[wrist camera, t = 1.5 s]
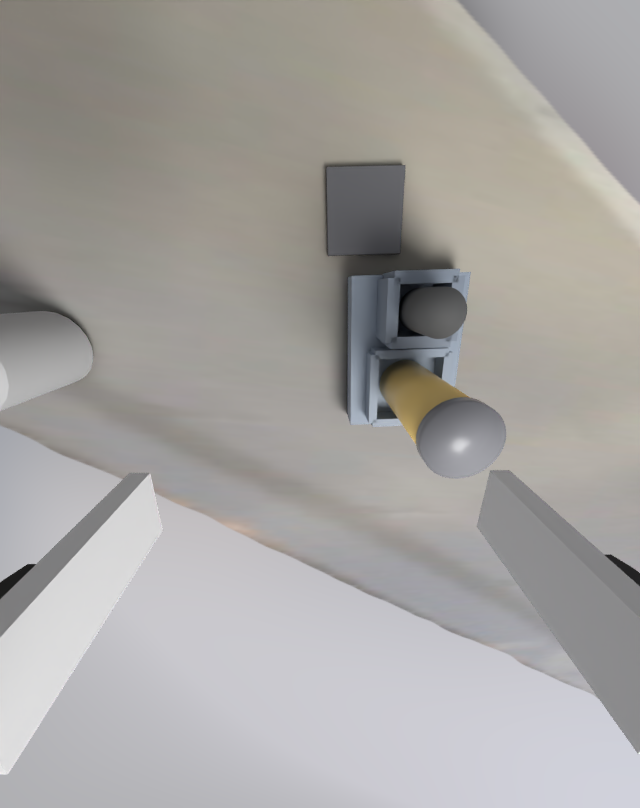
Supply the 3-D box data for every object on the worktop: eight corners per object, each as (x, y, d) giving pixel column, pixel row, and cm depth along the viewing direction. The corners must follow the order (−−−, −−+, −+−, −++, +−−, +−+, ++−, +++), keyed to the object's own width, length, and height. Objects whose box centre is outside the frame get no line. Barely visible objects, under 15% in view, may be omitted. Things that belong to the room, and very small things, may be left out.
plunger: (399, 288, 25) (419, 287, 21) (440, 286, 25) (470, 285, 21) (396, 331, 27) (414, 339, 22) (436, 330, 27) (463, 338, 22)
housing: (348, 276, 30) (358, 271, 23) (455, 273, 30) (496, 267, 24) (347, 414, 35) (355, 442, 29) (439, 410, 36) (468, 437, 29)
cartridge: (378, 358, 30) (425, 404, 18) (431, 356, 30) (513, 401, 18) (376, 408, 32) (417, 480, 20) (426, 406, 32) (497, 476, 20)
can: (22, 300, 30) (-150, 305, 19) (101, 323, 31) (-18, 341, 20) (24, 369, 32) (-128, 410, 21) (96, 389, 33) (-12, 438, 22)
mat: (326, 169, 27) (326, 166, 26) (403, 167, 27) (405, 165, 26) (327, 255, 29) (328, 255, 29) (398, 253, 29) (400, 253, 29)
